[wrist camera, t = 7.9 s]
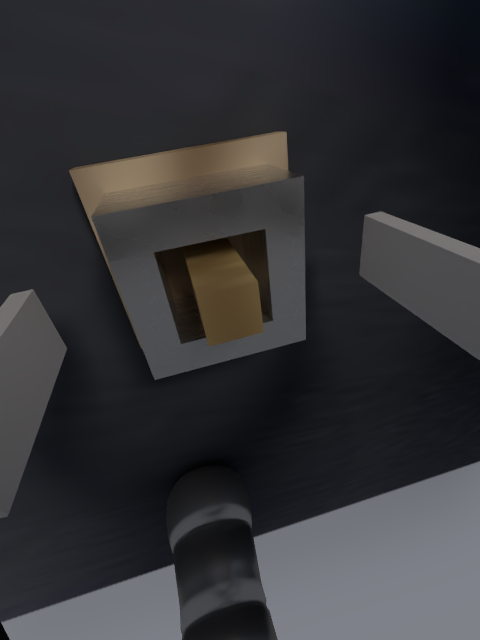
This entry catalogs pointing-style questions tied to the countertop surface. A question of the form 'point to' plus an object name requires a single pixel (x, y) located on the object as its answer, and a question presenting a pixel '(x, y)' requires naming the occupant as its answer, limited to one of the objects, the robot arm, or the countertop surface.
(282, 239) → the grey square frame
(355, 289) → the countertop surface
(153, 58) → the countertop surface
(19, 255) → the countertop surface
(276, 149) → the tan square plate
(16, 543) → the countertop surface
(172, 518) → the plastic bottle
